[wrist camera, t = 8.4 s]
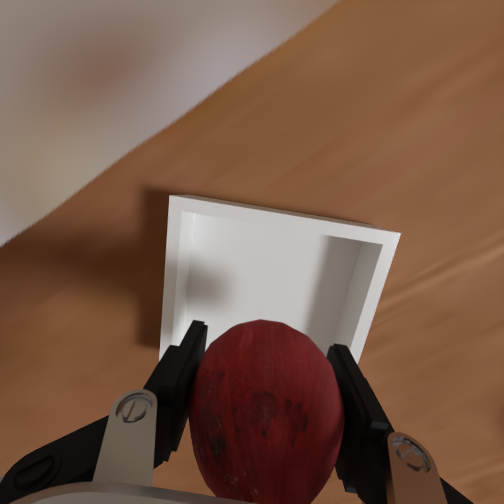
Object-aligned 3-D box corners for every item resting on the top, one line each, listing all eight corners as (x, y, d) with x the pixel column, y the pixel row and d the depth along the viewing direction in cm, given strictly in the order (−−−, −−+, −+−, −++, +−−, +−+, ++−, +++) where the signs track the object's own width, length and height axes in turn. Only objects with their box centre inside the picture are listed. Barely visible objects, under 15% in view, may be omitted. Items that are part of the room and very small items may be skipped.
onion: (190, 334, 13) (81, 551, 5) (267, 268, 12) (275, 422, 4) (261, 398, 14) (258, 664, 6) (339, 344, 13) (460, 589, 5)
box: (373, 224, 17) (400, 233, 13) (328, 377, 20) (340, 414, 17) (188, 194, 17) (169, 195, 14) (175, 351, 20) (157, 383, 17)
